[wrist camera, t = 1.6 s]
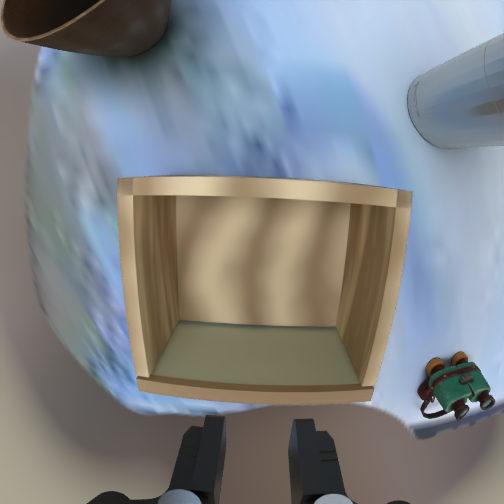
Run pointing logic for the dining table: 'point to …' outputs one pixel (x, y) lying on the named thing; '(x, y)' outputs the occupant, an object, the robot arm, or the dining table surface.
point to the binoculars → (455, 387)
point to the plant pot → (87, 24)
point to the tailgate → (256, 365)
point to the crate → (261, 258)
